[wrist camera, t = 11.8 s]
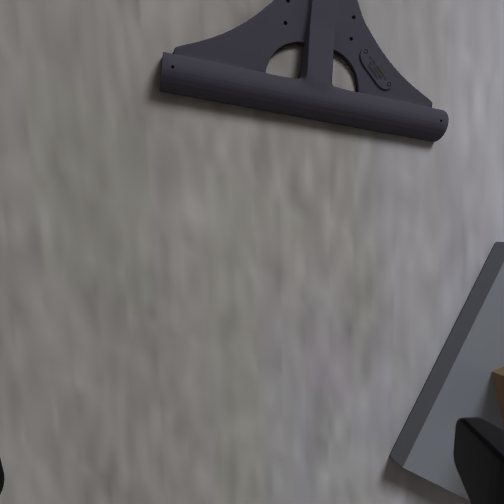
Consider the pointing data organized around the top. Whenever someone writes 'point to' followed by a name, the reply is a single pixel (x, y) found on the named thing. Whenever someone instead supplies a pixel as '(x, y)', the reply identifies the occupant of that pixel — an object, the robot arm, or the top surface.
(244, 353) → the top surface
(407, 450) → the far plate
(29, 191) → the top surface
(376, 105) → the squeegee
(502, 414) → the walnut block
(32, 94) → the top surface
